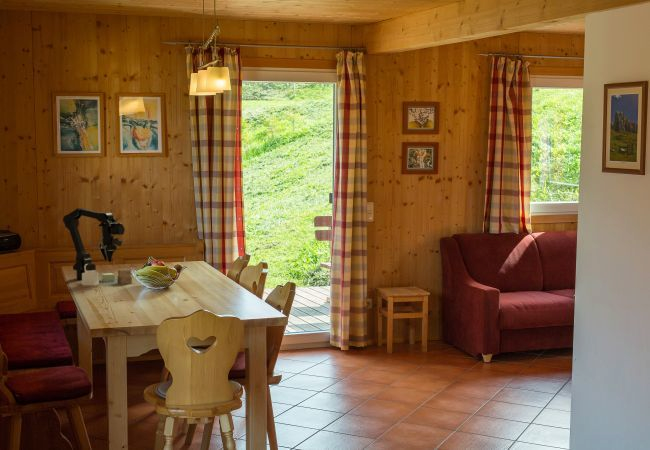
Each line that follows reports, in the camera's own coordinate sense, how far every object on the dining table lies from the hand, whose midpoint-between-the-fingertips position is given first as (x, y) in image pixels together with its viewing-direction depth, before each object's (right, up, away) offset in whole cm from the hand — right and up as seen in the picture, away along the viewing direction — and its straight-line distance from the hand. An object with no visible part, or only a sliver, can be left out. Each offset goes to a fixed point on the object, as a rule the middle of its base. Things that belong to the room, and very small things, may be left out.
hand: (107, 261), depth 490 cm
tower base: (+11, -12, -7) cm, 18 cm away
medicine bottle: (-7, -13, -11) cm, 19 cm away
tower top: (+11, -8, -8) cm, 16 cm away
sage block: (0, -12, +1) cm, 12 cm away
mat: (+5, -12, -4) cm, 14 cm away
